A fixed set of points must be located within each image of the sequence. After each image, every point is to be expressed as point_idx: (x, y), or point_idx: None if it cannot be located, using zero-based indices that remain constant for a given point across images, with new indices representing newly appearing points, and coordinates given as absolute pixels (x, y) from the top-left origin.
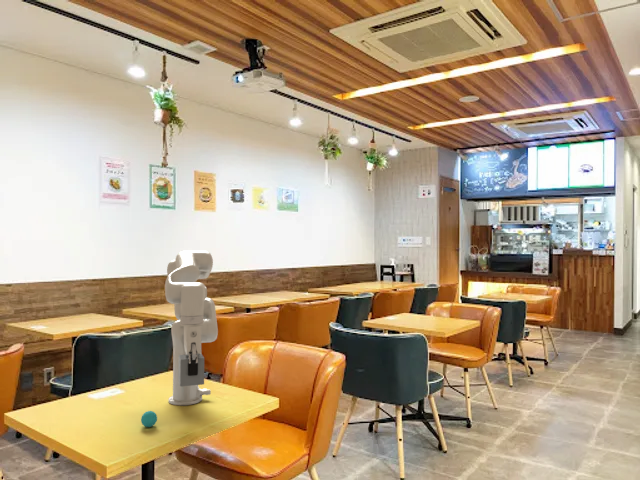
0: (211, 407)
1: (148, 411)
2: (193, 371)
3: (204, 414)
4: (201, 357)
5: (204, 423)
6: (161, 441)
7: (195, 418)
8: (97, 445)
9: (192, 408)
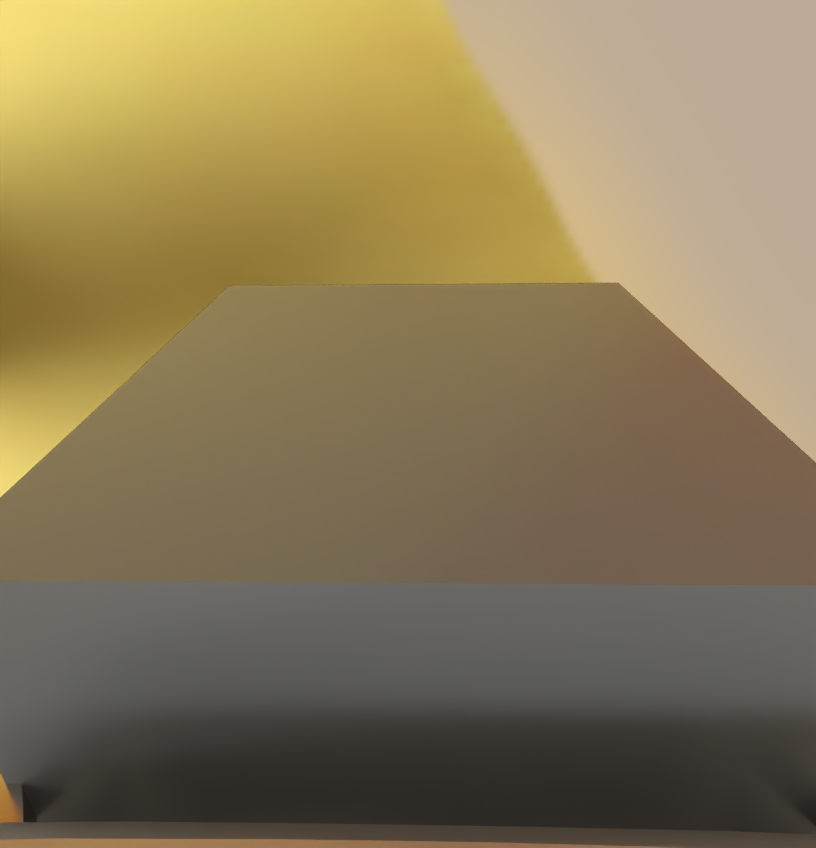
0: (23, 48)
1: None
2: None
3: (231, 151)
4: (769, 664)
5: (471, 181)
6: None
7: (321, 243)
8: None
9: (43, 242)
